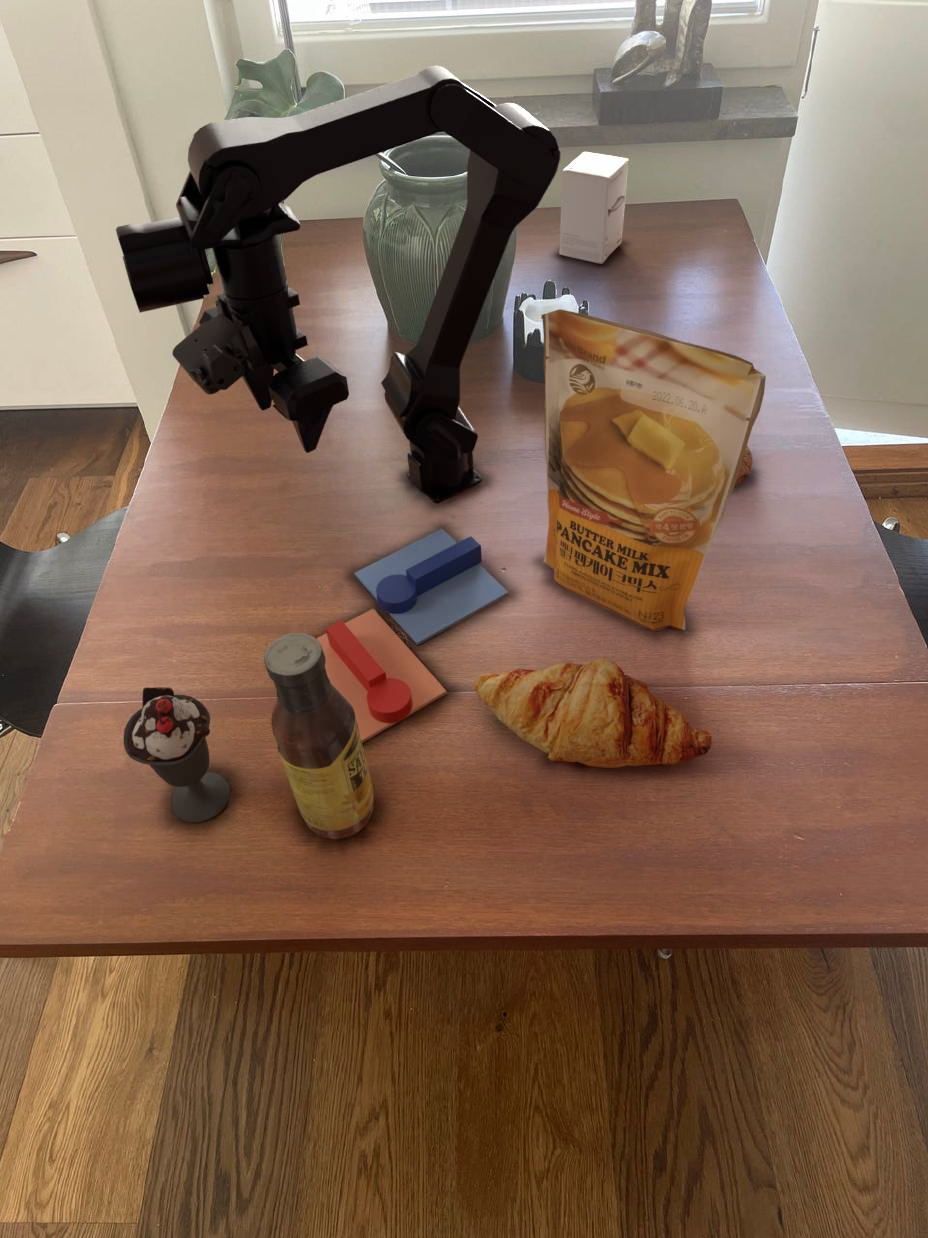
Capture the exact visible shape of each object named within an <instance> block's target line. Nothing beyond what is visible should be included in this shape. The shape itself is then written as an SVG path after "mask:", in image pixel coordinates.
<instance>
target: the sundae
mask: <svg viewBox="0 0 928 1238" xmlns="http://www.w3.org/2000/svg"><path fill="white" fill-rule="evenodd" d="M141 704H142V707H141V708H140V709H139V710H137V711H136V712H135V713H134V714H132V715H131V717H130V718H129V720H128V721H127V723H126V724H125V728H124V731H123V746H124V750H125V753H126V755H127V756H128V757H129V758H130V759H132V760H133V761H135V762H138V763H140V764H144V765H148V766H150V767H151V769H152V770H153V771H154V772H155V774H157V776H158V777H159V778H160V779H162V780H163V781H164V782H165V783H166V784H168V785H169V786H171V787H175V790H174V792H173V794H172V796H171V808H172V811H173V813H174V815H175V816H176V817H178V818H179V819H180V820H182V821H183V822H187V823H193V824H194V823H195V824H196V823H202V822H207V821H209V820H210V819H212V818H215V817H216V816H217V815H219V814H220V813H221V812H222V811H223V810H224V808H226V806H227V804H228V802H229V799H230V797H231V794H230V793H231V789H230V788H231V787H230V785H229V782H228V781H227V780H226V778H225V777H223V776H222V775H221V774H218V773H216V772H213V771H212V772H210V771H208V770H209V767H210V750H209V746H208V742H207V736H209V735H210V733H211V730H210V726H211V714H210V711H209V710H208V708H207V707H206V706H205V705H204V704H203V703H202V702H200V700H198V699H197V698H195V697H192V696H190V695H187V694H186V695H185V694H175V692H174V689H173V688H172V687H169V686H167V687H164V686H154V687H150V686H149V687H148V686H147V687H144V688H143V689H142V703H141Z"/></svg>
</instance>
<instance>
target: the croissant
mask: <svg viewBox="0 0 928 1238" xmlns="http://www.w3.org/2000/svg"><path fill="white" fill-rule="evenodd" d="M474 689H475V692H476V694H477V696H478V698H479V699H480V700H481V701H482V702H483V704H484V705H486V706H487V707H488V708H489V709H490V710H491V711H492V712H493V714H494V715H495V717H496V718H497V719H498V720H499V721H500V722H501V723H502V724H503V725H505V726H506V727H508V729H509V730H510V731H511V732H513V733H515V734H516V735H517V736H518V737H519V739H521V740H522V741H524V742H526V743H528V744H530V745H532V746H533V747H535V748H536V749H538V750H540V751H542V752H544V753H546V754H548V759H549V760H550V761H552V762H555V761H557V762H558V761H561V762H571V763H574V762H578V763H580V764H583V765H585V766H587V767H597V768H621V767H626V766H630V767H637V766H638V767H639V766H647V765H648V766H649V765H650V766H652V765H654V766H655V765H660V764H662V765H677V764H680V763H684V762H687V761H689V760H692V759H694V758H697V757H701V756H705V755H707V754H708V753H709V751H710V750H711V749H712V746H713V742H712V741H713V740H712V739H713V736H712V735H711V734H710V732H709V731H708V730H705V729H703V730H702V729H699V728H697V727H694V726H691V725H690V723H689V721H688V719H687V717H686V716H685V715H684V714H683V713H682V712H680V711H678V709H677V708H676V707H672V706H671V705H669V704H667V703H665V702H664V701H663V699H660V698H658V697H656V696H655V695H654V694H653V693H652V692H651V690H650V689H649V688H648V687H647V683H646V682H644V681H642V680H639V679H636V678H634V677H632V676H630V675H627V674H625V672H624V671H623V669H622V668H621V666H619V664H618V663H616V662H615V661H614V660H611V659H608V658H604V657H598V658H597V659H595V660H591V661H589V662H588V663H587V664H586V665H583V664H582V663H575V662H566V663H557V664H554V665H551V666H550V667H548V668H545V669H537V670H536V669H525V668H516V669H512V670H507V671H505V672H503V673H501V674H499V673H495V672H489V673H483V674H480V675H479V676H478V677H476V678H475V680H474Z"/></svg>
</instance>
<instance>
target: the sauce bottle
mask: <svg viewBox="0 0 928 1238" xmlns="http://www.w3.org/2000/svg"><path fill="white" fill-rule="evenodd" d="M263 658H264V660H263V661H264V666H265V669H266V671H267V674H268V676H269V678H270V679H271V681H272V682H273V684H274V687H275V689H276V697H277V700H276V702H275V704H274V706H273V709H272V713H271V719H270V721H271V723H270V724H271V727H272V728H271V729H272V735H273V736H274V738H275V741H276V744H277V745H276V746H277V752H278V754H279V757H280V760H281V763H282V766H283V769H284V771H285V774H286V776H287V780H288V783H289V786H290V788H291V790H292V794H293V797H294V799H295V802H296V805H297V808H298V810H299V813H300V815H301V817H302V818H303V820H304V822H305V824H306V826H307V827H308V828H309V830H311V831H312V833H313V832H314V833H315V834H316V835H317V836H319V837H320V838H323V839H327V840H341V839H347V838H350V837H352V836H354V835H356V834H358V833H359V832H360V831H361V830H363V829H364V827H366V826H367V824H368V822H369V821H370V819H371V816H372V814H373V811H374V807H375V805H374V801H375V800H374V799H375V797H374V795H375V793H374V792H375V791H374V786H373V782H372V778H371V774H370V771H369V766H368V762H367V757H366V754H365V749H364V745H363V743H362V740H361V736H360V732H359V728H358V724H357V720H356V716H355V712H354V709H353V707H352V705H351V704H350V703H349V702H348V701H347V700H346V699H345V698H344V697H343V696H342V695H341V694H340V692H339V691H338V690H337V689H336V688H335V687H334V686H333V685H332V684H331V683H330V680H329V678H328V676H327V673H326V669H325V663H326V660H325V655H324V652H323V649H322V646H321V644H320V643H319V641H318V640H317V637H314V635H310V634H307V633H305V632H292V633H287V634H284V635H282V636H280V637H278V638H276V639H275V640H274V641H273V642H271V643H270V644H269V645H268V647H267V649H266V650H265V653H264V657H263Z"/></svg>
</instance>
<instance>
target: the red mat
mask: <svg viewBox="0 0 928 1238" xmlns="http://www.w3.org/2000/svg"><path fill="white" fill-rule="evenodd" d="M344 623H345V625H346V626H347V627H348V628H349V629H350V631H351V632H352V633H353V634H354V635H355V637H356V638H357V639H358V640H359V641H360V642H361V644H362V645H363V646H364V647H365V648H366V650H367V651H368V652H369V653H370V654H371V656H372V657H373V658H374V659H375V660H376V661H377V663H378V664H379V665H380V666H381V667H382V669H383V670H384V671H385V672H386V678H397V679H400V680H402V681H404V682H405V683H406V684H407V685H408V686H409V688H410V690H411V696H412V702H413V705H412V709H411V711H410V713H409V714H408V715H407V716H406V717H405V718H407V717H409V716H410V715H413V714H414V713H415V712H418V711H419V710H421V709H422V708H425V707H426V706H428V705H429V704H432V702H435V701H436V700H438V699H440V698H441V697H443V696H445V695H446V694H447V690H446V689H445V688H444V687H443V685H442V684H441V683H440V682H439V680H437V678H436V677H435V676H434V675H433V674H432V673H431V672H430V671H429V670H428V668H427V667H426V666H425V665H424V664H423V663H422V662H421V660H420V659H419V658H418V657H417V656H416V655H415V654H414V653H413V651H412V650H411V649H410V648H409V647H408V646H407V645H406V643H405V642H404V641H403V640H402V639H401V637H399V635H397V634H396V632H395V631H394V630H393V629H392V627H390V625H388V623H387V622H386V621H385V620H384V619H383V618H382V616H380V614H379V613H378V612H377V611H376V610H375V608H372V609H370V610H368V611H366V612H364V613H362V614H360V615H358V616H356V617H354V618H352V619H351V620H348V621H347V622H344ZM316 639H317V640H318V641H319V643H320V644H321V646H322V649H323V652H324V655H325V660H326V663H325V669H326V673H327V676H328V678H329V680H330V683H331V684H332V685H333V686H334V687H335V688H336V689H337V690H338V691H339V692H340V694H341V695H342V696H343V697H344V698H345V699H346V700H347V701H348V702H349V703H350V704H351V705H352V707H353V709H354V712H355V716H356V720H357V724H358V728H359V732H360V736H361V740H362V744H363V743H365V742H366V741H368V740H369V739H371V738H373V737H374V736H377V735H379V734H380V733H382V732H383V731H385V730H387V729H389V728H390V727H392V726H394V725H395V724H397V723H399V722H400V721H398V722H395V723H383V722H380V721H378V720H376V719H375V718H374V717H373V716H372V715H371V714H370V711H369V707H368V703H367V693H368V692H367V690H366V689H365V688H364V687H363V685H362V684H361V683H360V682H359V680H358V679H357V678H356V677H355V676H354V674H353V673H352V672H351V671H350V669H349V668H348V667H347V666H346V664H345V663H344V662H343V661H342V659H341V658H340V657H339V656H338V655H337V653H336V652H335V651H334V650H333V648H332V647H331V646H330V644H329V640H328V636H327V632H326V633H324V634H322V635H320V636H319V637H316Z"/></svg>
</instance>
